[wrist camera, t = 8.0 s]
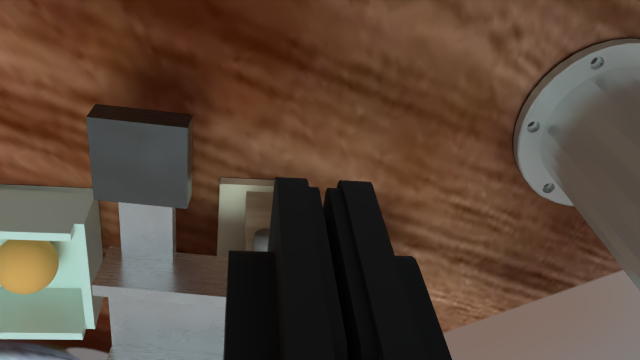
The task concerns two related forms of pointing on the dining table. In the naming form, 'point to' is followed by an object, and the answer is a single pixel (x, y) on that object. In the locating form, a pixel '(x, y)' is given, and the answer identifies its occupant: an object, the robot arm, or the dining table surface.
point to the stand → (244, 215)
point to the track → (153, 239)
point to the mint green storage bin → (74, 261)
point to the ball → (27, 265)
